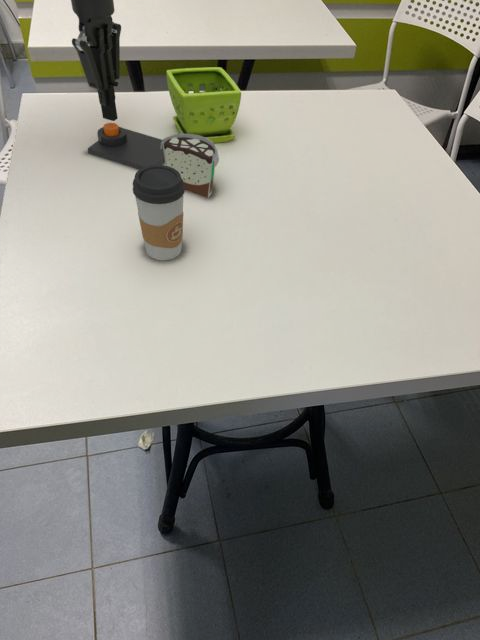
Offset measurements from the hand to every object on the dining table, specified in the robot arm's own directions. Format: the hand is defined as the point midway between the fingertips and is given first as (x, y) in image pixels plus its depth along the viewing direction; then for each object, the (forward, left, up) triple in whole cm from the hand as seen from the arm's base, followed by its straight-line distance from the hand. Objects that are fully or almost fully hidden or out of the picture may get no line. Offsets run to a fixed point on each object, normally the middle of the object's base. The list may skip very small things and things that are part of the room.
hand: (110, 118), depth 107 cm
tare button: (0, 0, -4) cm, 3 cm away
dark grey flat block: (+5, 0, -7) cm, 9 cm away
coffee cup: (+28, -27, -7) cm, 40 cm away
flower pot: (+14, +16, -7) cm, 23 cm away
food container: (+23, -5, -7) cm, 25 cm away
